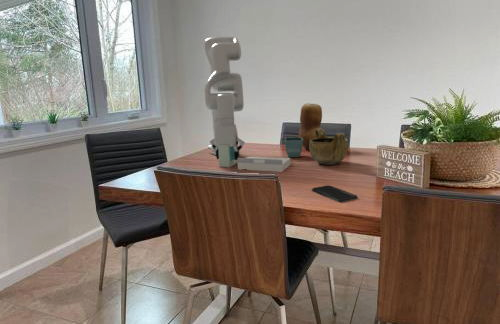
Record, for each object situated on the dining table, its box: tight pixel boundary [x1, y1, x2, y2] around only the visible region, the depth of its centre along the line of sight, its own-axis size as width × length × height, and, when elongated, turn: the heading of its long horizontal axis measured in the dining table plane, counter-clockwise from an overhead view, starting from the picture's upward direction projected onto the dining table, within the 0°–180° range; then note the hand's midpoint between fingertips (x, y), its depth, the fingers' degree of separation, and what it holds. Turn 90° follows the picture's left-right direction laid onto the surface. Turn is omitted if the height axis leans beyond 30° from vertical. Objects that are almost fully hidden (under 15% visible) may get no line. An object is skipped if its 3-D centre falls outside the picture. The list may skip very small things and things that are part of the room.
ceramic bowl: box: [309, 128, 349, 166], centre depth 162 cm, size 22×17×15 cm
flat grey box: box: [237, 155, 291, 173], centre depth 160 cm, size 20×14×5 cm
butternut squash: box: [297, 102, 323, 151], centre depth 196 cm, size 14×13×25 cm
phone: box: [311, 185, 358, 203], centre depth 119 cm, size 8×1×15 cm
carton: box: [218, 145, 237, 168], centre depth 166 cm, size 5×8×10 cm, turn 159°
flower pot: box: [284, 137, 303, 158], centre depth 180 cm, size 9×9×9 cm
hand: (227, 159), depth 167 cm, fingers open, 8 cm apart
